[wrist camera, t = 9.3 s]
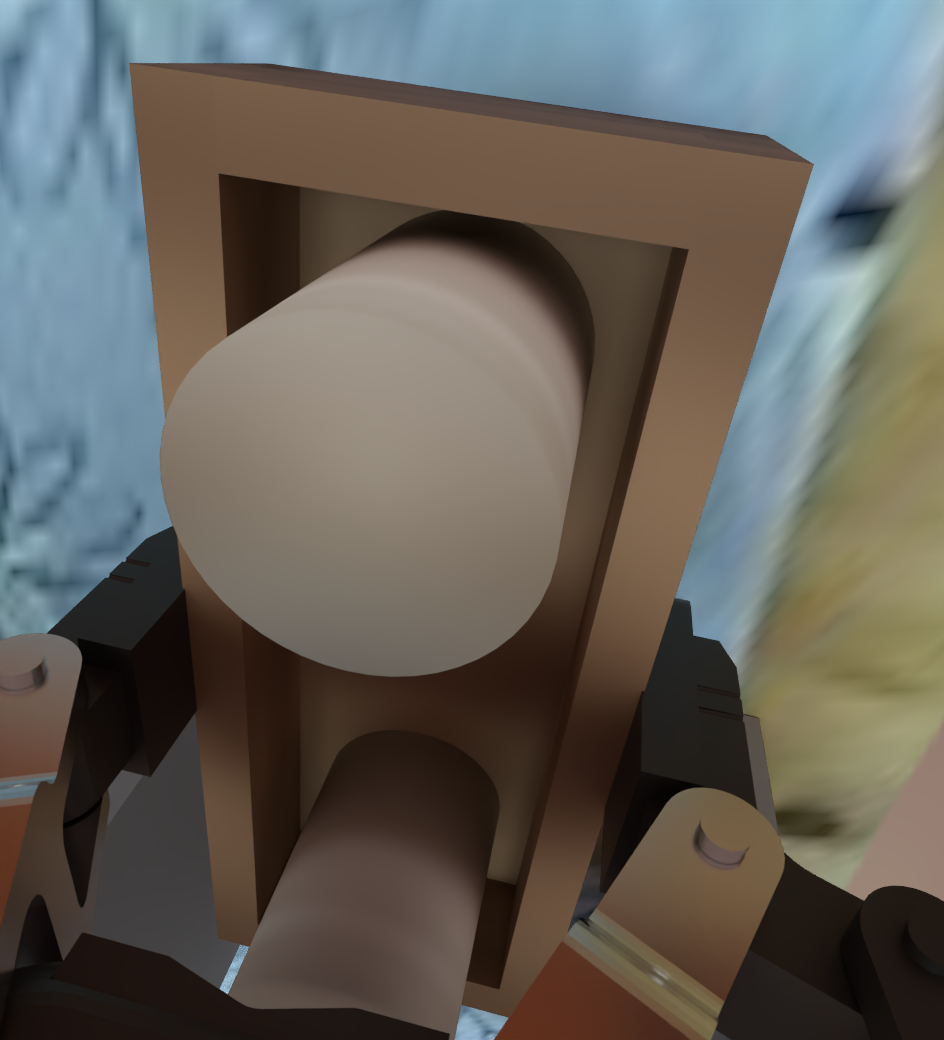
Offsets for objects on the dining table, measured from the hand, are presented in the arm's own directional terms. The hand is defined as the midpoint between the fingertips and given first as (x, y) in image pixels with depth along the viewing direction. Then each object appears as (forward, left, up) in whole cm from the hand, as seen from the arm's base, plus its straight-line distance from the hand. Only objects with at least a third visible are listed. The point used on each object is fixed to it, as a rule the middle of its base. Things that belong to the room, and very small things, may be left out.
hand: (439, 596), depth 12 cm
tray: (0, 0, -1) cm, 1 cm away
